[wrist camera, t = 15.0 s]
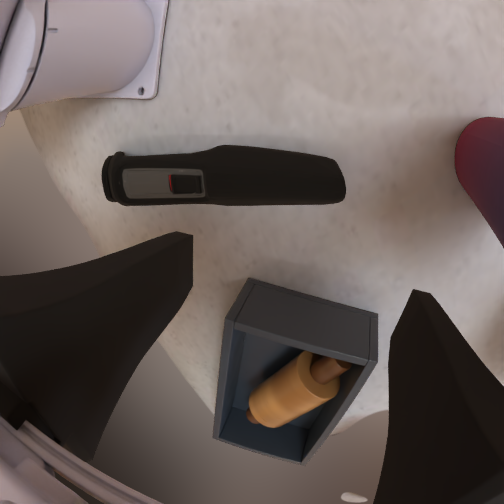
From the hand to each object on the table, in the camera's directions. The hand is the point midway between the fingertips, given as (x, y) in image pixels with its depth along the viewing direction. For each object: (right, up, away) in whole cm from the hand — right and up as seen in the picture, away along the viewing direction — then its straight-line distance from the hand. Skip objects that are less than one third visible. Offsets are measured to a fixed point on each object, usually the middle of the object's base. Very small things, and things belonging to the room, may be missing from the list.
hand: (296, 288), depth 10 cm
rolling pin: (+2, -8, +14) cm, 17 cm away
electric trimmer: (-4, +6, +9) cm, 12 cm away
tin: (+2, -9, +15) cm, 18 cm away
